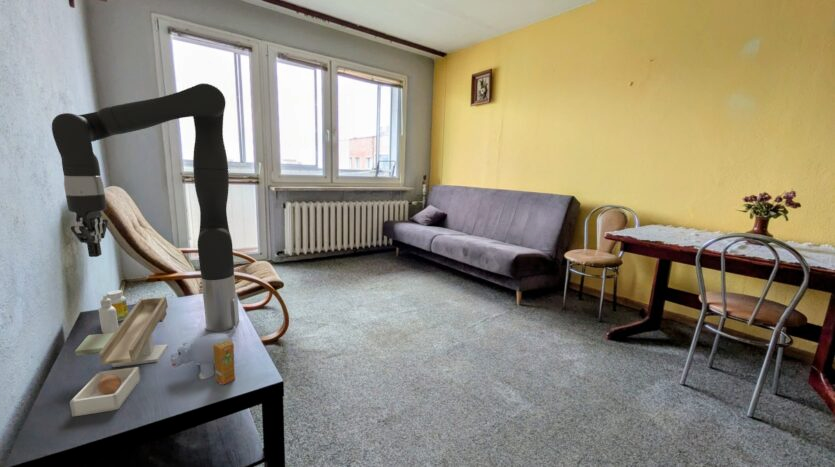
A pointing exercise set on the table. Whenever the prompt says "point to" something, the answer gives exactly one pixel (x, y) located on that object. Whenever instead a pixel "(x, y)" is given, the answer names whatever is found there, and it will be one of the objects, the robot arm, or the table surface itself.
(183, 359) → the hippopotamus toy
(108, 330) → the eye dropper bottle
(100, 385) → the ball
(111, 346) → the tilting chute
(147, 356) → the chute stand
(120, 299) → the supplement bottle
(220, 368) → the supplement box
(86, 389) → the bin
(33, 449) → the table surface
